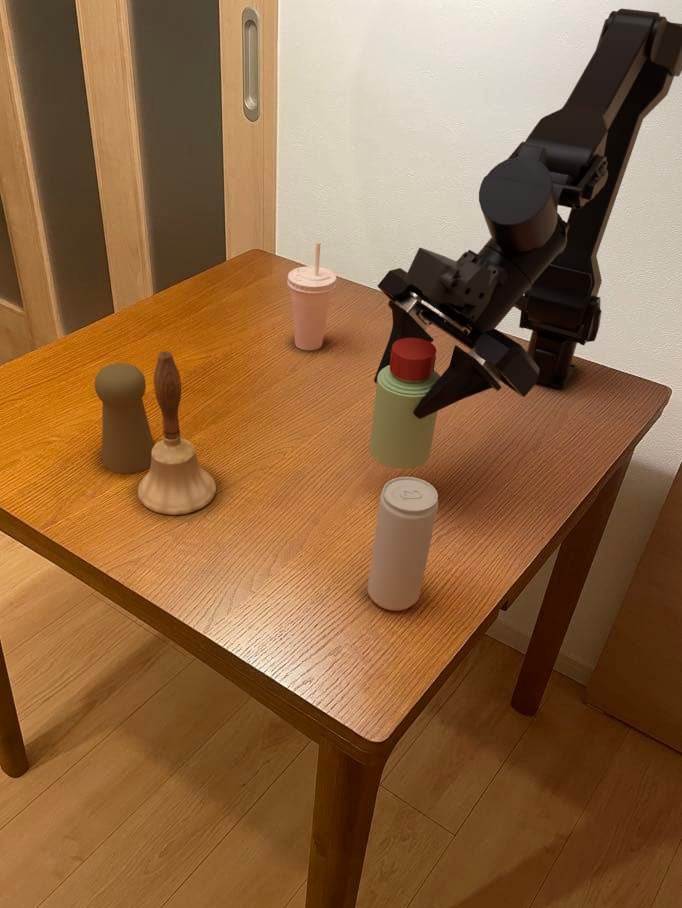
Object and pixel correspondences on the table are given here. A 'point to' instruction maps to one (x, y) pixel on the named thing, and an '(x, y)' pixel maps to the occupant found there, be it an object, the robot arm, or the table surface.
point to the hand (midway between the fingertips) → (395, 399)
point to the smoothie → (310, 302)
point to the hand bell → (173, 454)
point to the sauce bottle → (401, 421)
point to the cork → (124, 419)
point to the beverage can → (402, 542)
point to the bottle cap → (412, 359)
